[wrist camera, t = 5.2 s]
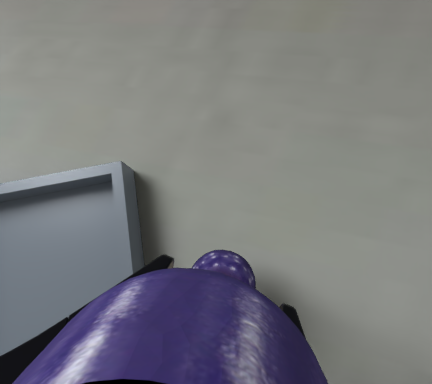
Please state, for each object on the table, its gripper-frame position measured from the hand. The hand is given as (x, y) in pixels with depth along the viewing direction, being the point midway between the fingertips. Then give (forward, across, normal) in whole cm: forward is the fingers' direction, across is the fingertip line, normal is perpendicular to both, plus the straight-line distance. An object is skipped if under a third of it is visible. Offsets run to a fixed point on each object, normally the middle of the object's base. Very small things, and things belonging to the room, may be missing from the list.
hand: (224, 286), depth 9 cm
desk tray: (+4, +12, +12) cm, 17 cm away
